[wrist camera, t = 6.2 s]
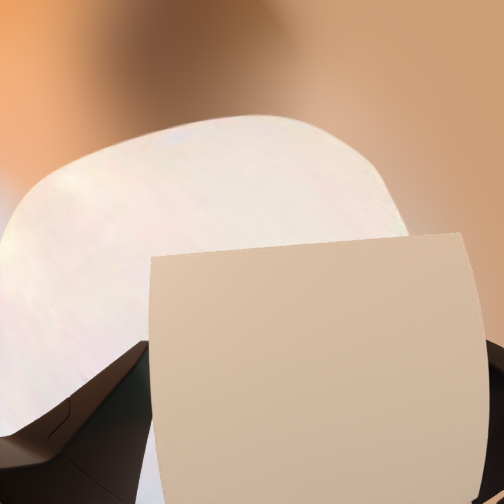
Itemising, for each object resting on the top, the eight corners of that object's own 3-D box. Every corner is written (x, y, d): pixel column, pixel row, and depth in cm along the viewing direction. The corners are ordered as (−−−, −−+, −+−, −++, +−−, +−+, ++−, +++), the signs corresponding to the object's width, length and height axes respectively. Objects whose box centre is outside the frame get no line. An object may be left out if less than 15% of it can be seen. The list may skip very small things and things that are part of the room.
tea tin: (325, 409, 14) (477, 497, 2) (243, 418, 14) (180, 561, 2) (318, 333, 16) (460, 232, 3) (238, 340, 16) (151, 257, 4)
